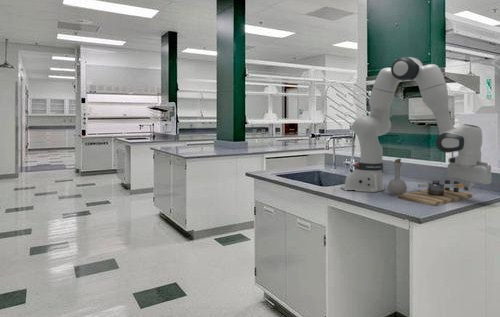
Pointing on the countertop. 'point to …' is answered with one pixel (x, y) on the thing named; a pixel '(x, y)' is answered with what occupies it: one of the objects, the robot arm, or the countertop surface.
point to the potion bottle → (397, 181)
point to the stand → (436, 196)
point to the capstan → (438, 187)
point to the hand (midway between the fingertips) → (467, 190)
